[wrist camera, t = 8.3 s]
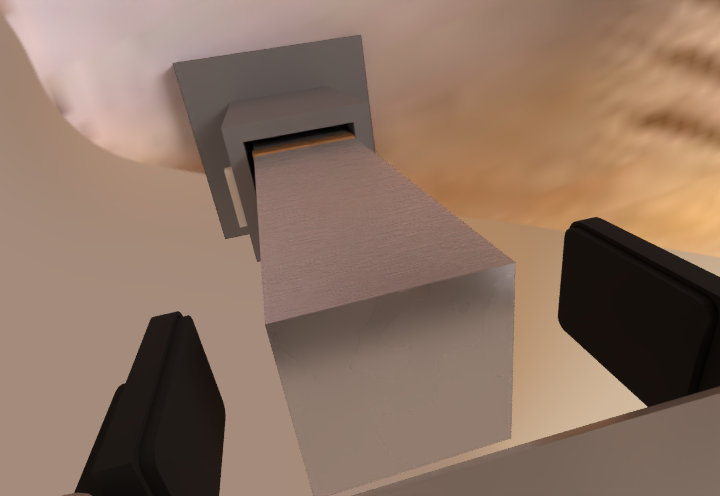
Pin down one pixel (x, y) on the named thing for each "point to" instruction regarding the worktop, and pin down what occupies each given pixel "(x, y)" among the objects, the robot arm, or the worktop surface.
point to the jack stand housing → (268, 112)
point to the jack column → (378, 313)
